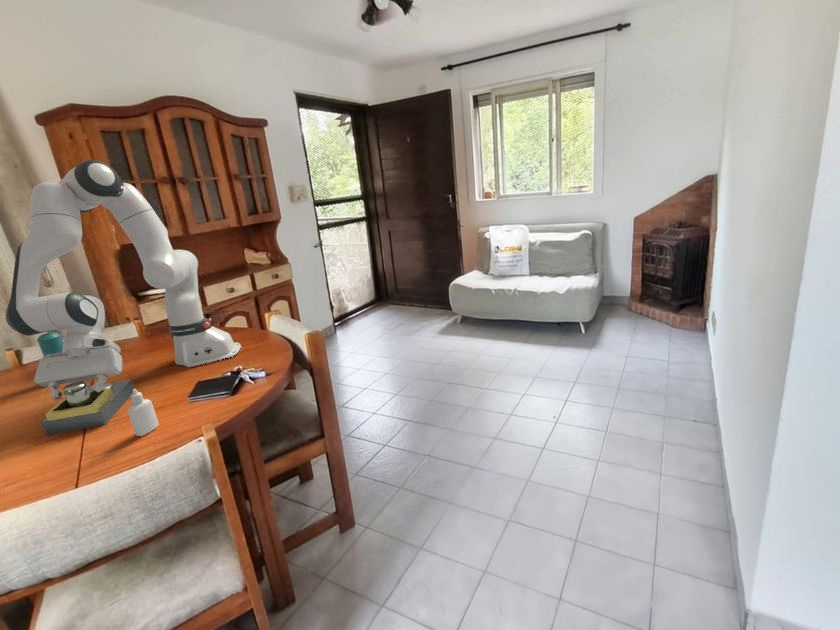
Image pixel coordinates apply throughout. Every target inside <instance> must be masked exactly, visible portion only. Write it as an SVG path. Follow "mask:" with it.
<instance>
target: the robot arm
mask: <svg viewBox="0 0 840 630" xmlns="http://www.w3.org/2000/svg"><path fill="white" fill-rule="evenodd" d="M98 206H102V207H104V208H105V209H107V210H108V211H109V212H110V213H111V214H112V215H113V217H114V218H115V220H116V221H117V223H118V224H119V226H120V227H121V228H122V230H123V232H125V234H126V236H127V237H128V238H129V240H130V241H131V243H132V244H133V247H134V248H135V250H136V252H137V255H138V257H139V259H140V262H141V264H142V267H143V270H142V275H143V278H144V280H145V282H146V283H147V284H148V285H149V286H151V287H153V288H155V289H159V290H163V289H164V291H165V293H164V294H165V295H164V299H163V306H164V309H165V313H166V315H167V316H166V317H167V320H168V328H169V329H168V330H169V334H170V336H171V338H172V340H173V344H174V345H173V346H174V354H175V355H174V363H175V364H176V365H178V366H184V367H186V368H191V367H195V366H200V365H201V364H202V365H205V363H206V364H210V363H214V361H215V362H218V361H217V360H219V361H223V360H222V359H224V360H226V359H225V358H228V359H231V358H230V357H232V358H234V357H235V356H234V355H236V354H237V353H238V352H239V350H240V348H241V349H242V345H241V343H239V342H234V340H233V338H232V336H231V334H230V333H229V332H227V331H224V330H222V329H219V328H218V327H215V326H213V325H212V318H211V317H209V318H207V317H205V316H204V313H203V309H202V305H201V301H200V295H199V278H198V267H199V261H198V258H197V257H196V255H195V254H194V253H192V252H191V251H189V250H185V249H174V248H173V246H172V244H171V242H170V238H169V232H168V229H167V227H166V226H165V224H164V223H163V222H162V220H161V219H160V218H159V216H158V214H157V213H156V211H155V210H154V209H153V207H152V206H151V204H150V203H149V202H148V201H147V199H146V197H144V196H143V194H142V193H141V192H140V191H139V190H138V188H136V187H135V186H134V185H133V184H131V183H129V182H128V183H127V182H123V179H122V178H121V176H120V175H118V173H117V172H116V171H115V170H114V169H113V168H112V167H111V166H110V165H108V164H107V163H105V162H103V161H102V160H99V159H87V160H83V161H81V162H79V163H78V164H77V165H75V166H74V167H72V169H70V170H69V171H67V173H66V174H65V175H64V177H63V178H62V179H61V180H60V181H59V182H52V181H46V182H40V183H38V184H37V185H35V186H34V187H33V189H32V191H31V194H30V203H29V220H30V226H29V229H28V233H27V235H26V237H25V239H24V240H23V242H21V243H20V244H19V245H18V247H17V250H16V253H15V254H16V255H15V261H14V268H13V278H12V285H11V292H10V293H11V294H10V299H9V301H8V303H7V307H6V311H5V321H6V324H7V325H8V326H9V328H11V329H12V330H14V331H15V332H17V333H19V334H20V335H23V336H29V337H30V336H36V335H38V334H39V335H40V334H45V333H47V332H53V331H58V330H66V333H65V335H64V338H63V349H62V352H59V353H54V354H47V355H46V356H43V357H42V358H40V359H39V361H38V365H37V368H36V371H35V373H34V374H35V375H34V379H33V382H34V383H36V385H38V386H41V387H44V388H45V387H48V388H49V389H50V391H51V392H52V393H51V399H53V400H62V399H63V394H64V392H61V390H60V391H59V390H58V389H59V388H60V385H64V384H71V383H75V382H79V381H90V380H97V381H96V382H95V384H91V386H92V389H91V391H92V392H93V393H97V392H101V386H102V385H103V384H104V383H106V381H107V379H108V377H112V376H113V377H115V376H118V375H120V374H121V373H122V371H123V357H122V355H121V354H120V353H121V351H122V350H121V347H120V346H119V345H118V344H117V343H115V342H114V341H113V340H110V339H109V338H103V331H104V329H105V322H106V312H105V311H106V310H105V305H104V303H103V301H102V300H101V299H100V298H98V297H96V296H93V295H89V294H88V295H87V294H85V295H84V294H81V293H80V292H76V291H71V292H62V293H55V294H51V295H44V296H39V293H40V284H41V283H40V281H41V276H42V275H41V274H42V272H43V269H44V268H45V266H47V265H48V264H49V263H51V262H52V261H53V260H56V259H57V258H59V257H62V256H63V255H65V254H68V253H70V252H71V251H74V249H76V248H77V247H78V246H79V244H80V243H81V242H82V237H83V227H82V226H83V225H82V217H81V214H85V213H89V212H90V211H93V210H94V209H96V208H97V207H98ZM46 331H47V332H46ZM240 351H241V350H240ZM239 353H240V352H239ZM239 353H238V354H239ZM238 354H237V355H238ZM237 355H236V356H237ZM233 356H234V357H233Z"/></svg>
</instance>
